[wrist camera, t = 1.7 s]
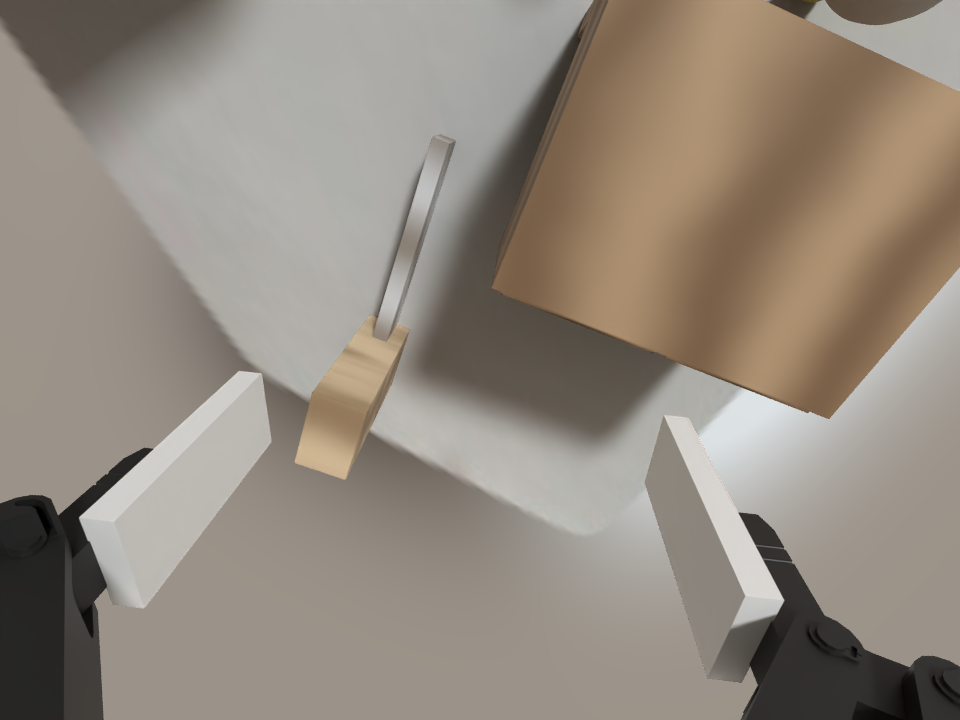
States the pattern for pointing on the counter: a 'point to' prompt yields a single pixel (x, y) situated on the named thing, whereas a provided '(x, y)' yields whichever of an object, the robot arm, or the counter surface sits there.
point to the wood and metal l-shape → (371, 345)
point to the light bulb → (878, 9)
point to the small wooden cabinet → (739, 196)
